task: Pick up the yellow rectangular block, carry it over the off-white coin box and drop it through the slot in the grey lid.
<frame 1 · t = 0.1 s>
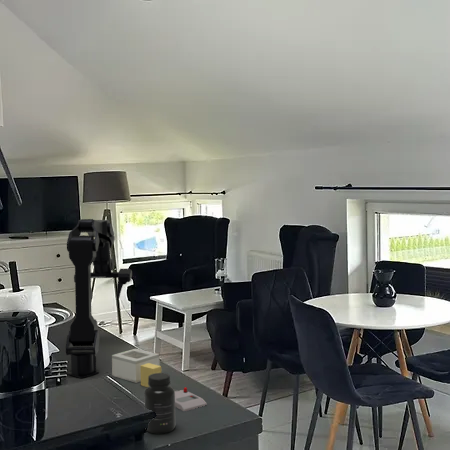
hand: (105, 298, 212), 15 cm above the kitchen counter, tool pointing down, fingers open, 9 cm apart
coin box: (136, 375, 177), on the kitchen counter
yellow rectangular block: (151, 385, 168), on the kitchen counter
white control pad: (182, 403, 155), on the kitchen counter
supplement bottle: (160, 429, 138), on the kitchen counter
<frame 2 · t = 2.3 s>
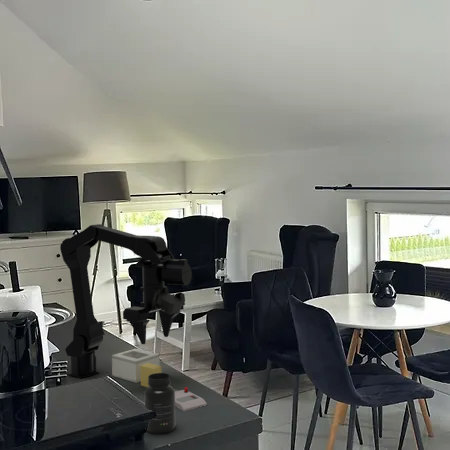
hand: (155, 340, 168), 12 cm above the kitchen counter, tool pointing down, fingers open, 9 cm apart
nothing on the kitchen counter moved.
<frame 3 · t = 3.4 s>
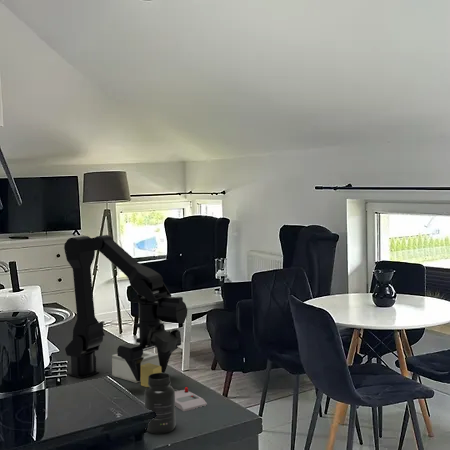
hand: (150, 376, 167), 2 cm above the kitchen counter, tool pointing down, fingers open, 9 cm apart
nothing on the kitchen counter moved.
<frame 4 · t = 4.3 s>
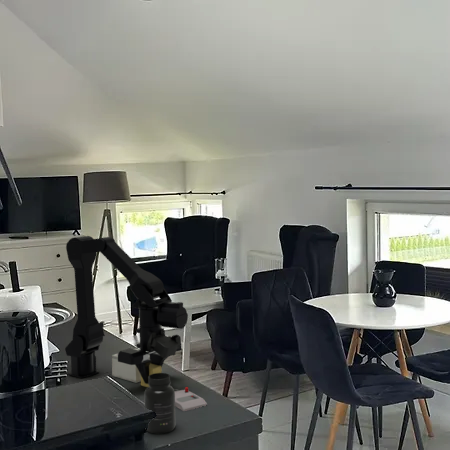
hand: (151, 381, 168), 1 cm above the kitchen counter, tool pointing down, fingers closed on yellow rectangular block, 3 cm apart
yellow rectangular block: (151, 385, 168), on the kitchen counter, touching gripper
everything else where it was.
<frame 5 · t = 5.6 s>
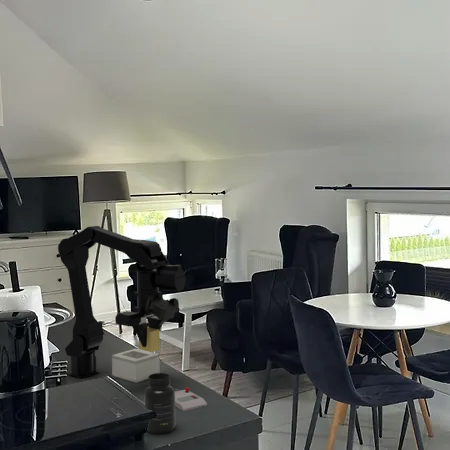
hand: (148, 345, 168), 11 cm above the kitchen counter, tool pointing down, fingers closed on yellow rectangular block, 3 cm apart
yellow rectangular block: (149, 349, 168), point 10 cm above the kitchen counter, touching gripper
everything else where it was.
when the fingers open (8 cm above the kitchen counter, at t = 6.9 s): yellow rectangular block drops 6 cm, resting on coin box.
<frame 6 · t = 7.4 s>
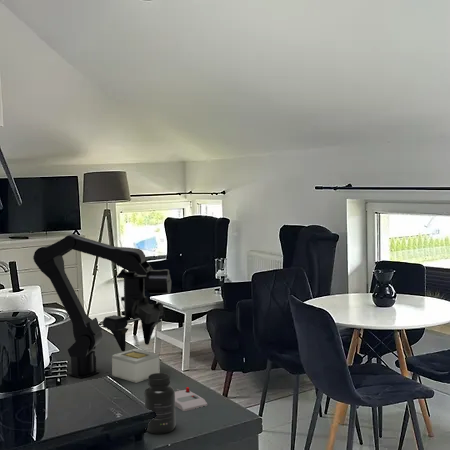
hand: (135, 347, 176), 8 cm above the kitchen counter, tool pointing down, fingers open, 9 cm apart
yellow rectangular block: (136, 373, 177), resting on coin box
everything else where it was.
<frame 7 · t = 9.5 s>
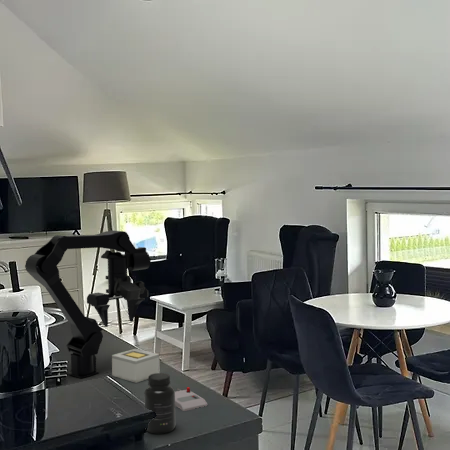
hand: (118, 324, 186), 13 cm above the kitchen counter, tool pointing down, fingers open, 9 cm apart
nothing on the kitchen counter moved.
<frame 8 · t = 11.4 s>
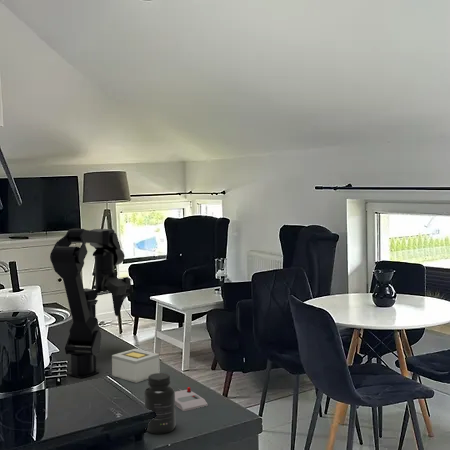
hand: (105, 318, 194), 12 cm above the kitchen counter, tool pointing down, fingers open, 9 cm apart
nothing on the kitchen counter moved.
at the end: yellow rectangular block inside the target area on the coin box (0.0 cm from its centre), point 0.5 cm above the coin box's base; the gripper is holding nothing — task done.
